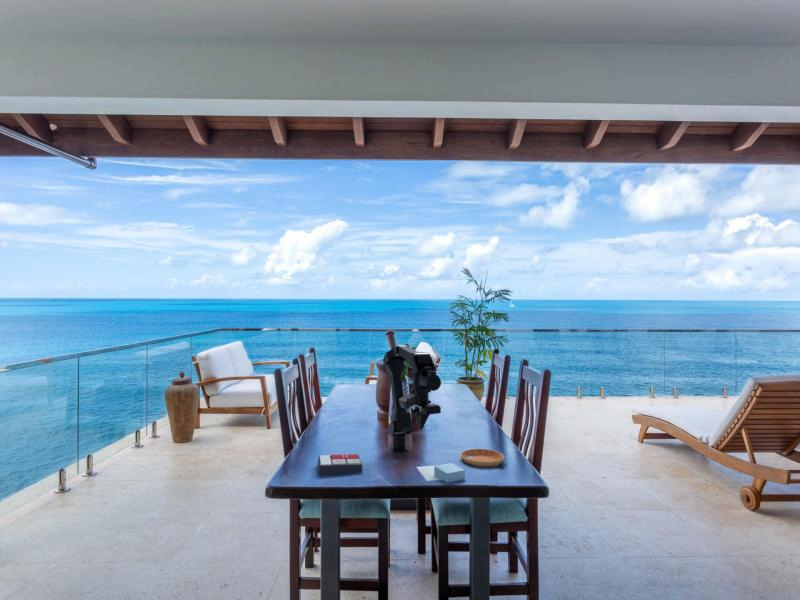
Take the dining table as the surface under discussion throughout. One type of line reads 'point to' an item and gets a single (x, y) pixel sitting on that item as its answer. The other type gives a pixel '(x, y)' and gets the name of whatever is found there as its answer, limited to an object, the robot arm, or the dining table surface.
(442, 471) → the box
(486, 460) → the saucer
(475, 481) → the dining table surface
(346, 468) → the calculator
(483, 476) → the dining table surface
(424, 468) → the mat
